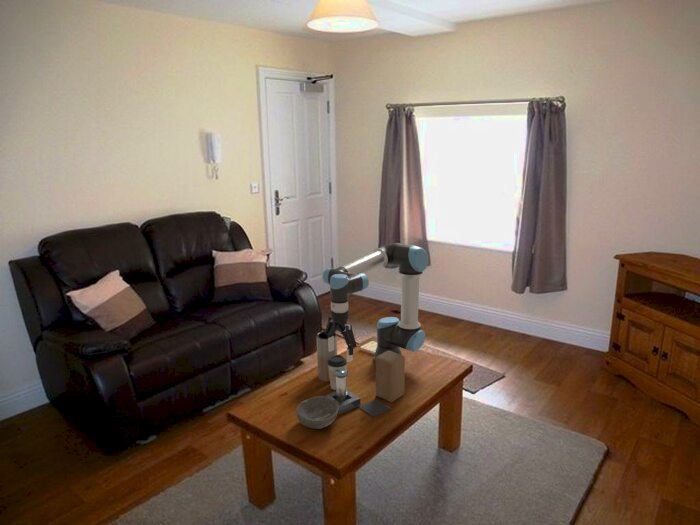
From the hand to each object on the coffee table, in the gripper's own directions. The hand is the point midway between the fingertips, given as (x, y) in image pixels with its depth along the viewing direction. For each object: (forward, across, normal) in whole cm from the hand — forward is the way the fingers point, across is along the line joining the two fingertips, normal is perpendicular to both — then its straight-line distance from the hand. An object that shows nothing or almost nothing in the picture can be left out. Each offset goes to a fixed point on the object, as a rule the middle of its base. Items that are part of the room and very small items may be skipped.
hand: (340, 355), depth 217 cm
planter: (+24, -25, +10) cm, 36 cm away
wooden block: (+24, +8, +22) cm, 34 cm away
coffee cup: (+24, -14, +8) cm, 29 cm away
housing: (+24, 0, 0) cm, 24 cm away
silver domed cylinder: (+24, 0, 0) cm, 24 cm away
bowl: (+24, +6, -17) cm, 30 cm away
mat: (+24, +12, +9) cm, 28 cm away
